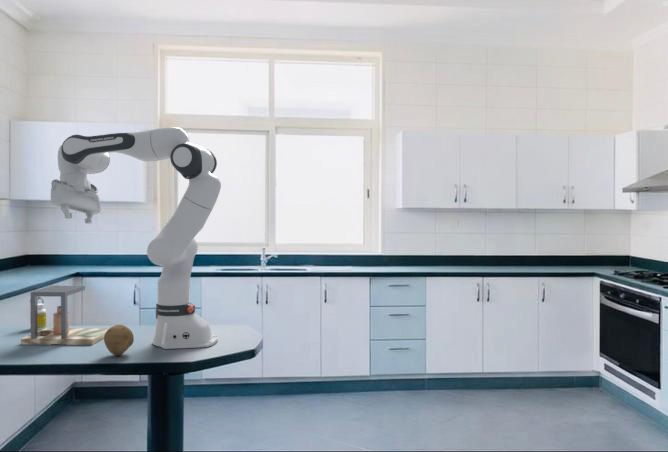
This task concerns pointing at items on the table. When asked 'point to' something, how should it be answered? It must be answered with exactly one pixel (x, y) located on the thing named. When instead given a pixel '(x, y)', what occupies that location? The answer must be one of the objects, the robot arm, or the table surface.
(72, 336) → the birch board
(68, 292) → the tunnel roof
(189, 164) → the robot arm
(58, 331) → the terracotta bottle
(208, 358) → the table surface
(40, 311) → the supplement bottle
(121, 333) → the natural sponge
